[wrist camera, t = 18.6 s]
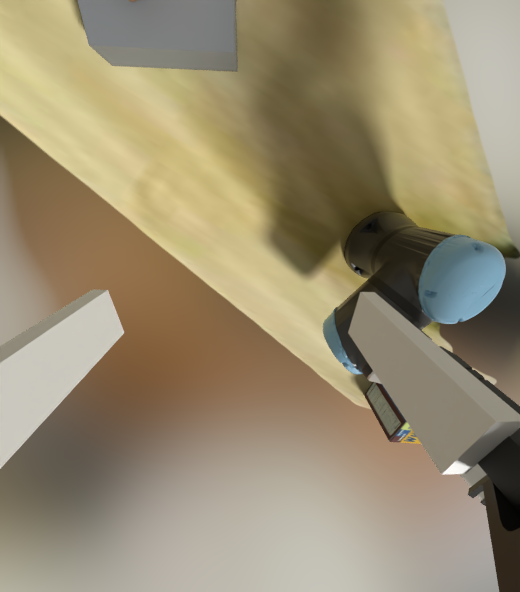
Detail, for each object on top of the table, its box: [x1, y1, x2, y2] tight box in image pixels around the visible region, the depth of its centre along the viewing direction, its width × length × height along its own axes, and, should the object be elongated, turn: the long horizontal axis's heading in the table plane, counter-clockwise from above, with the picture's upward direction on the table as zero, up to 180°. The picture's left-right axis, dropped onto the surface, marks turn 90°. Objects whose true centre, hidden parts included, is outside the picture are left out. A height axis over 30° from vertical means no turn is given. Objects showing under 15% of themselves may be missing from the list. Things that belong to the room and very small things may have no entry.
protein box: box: [365, 382, 421, 444], centre depth 65 cm, size 10×15×16 cm
